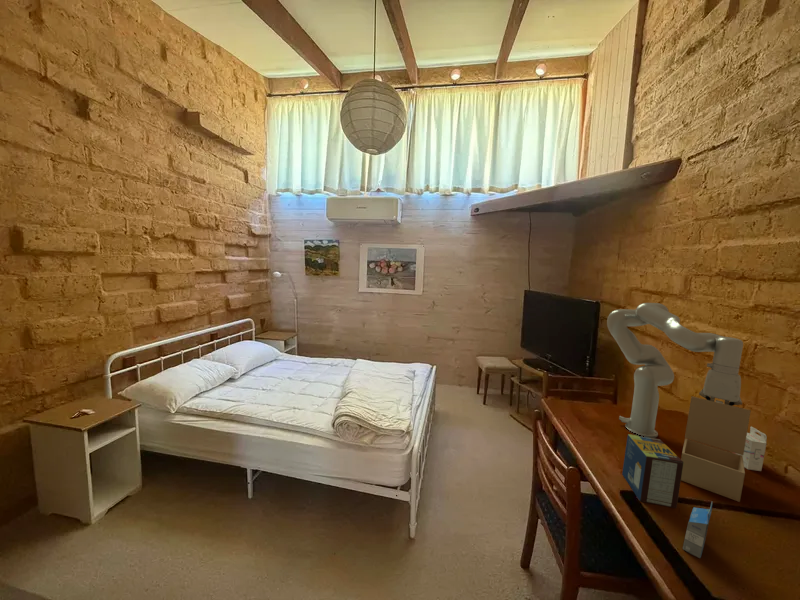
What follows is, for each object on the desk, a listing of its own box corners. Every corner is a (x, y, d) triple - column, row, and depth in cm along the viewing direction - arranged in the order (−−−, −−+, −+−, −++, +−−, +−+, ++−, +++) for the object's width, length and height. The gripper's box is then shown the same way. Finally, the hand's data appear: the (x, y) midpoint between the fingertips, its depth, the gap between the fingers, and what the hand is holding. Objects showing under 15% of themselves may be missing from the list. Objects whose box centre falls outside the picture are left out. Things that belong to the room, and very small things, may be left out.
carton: (677, 479, 124) (682, 452, 123) (681, 462, 136) (685, 438, 135) (739, 501, 113) (744, 473, 112) (737, 481, 125) (742, 455, 124)
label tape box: (687, 533, 97) (694, 493, 96) (706, 542, 94) (713, 501, 93) (681, 549, 91) (689, 506, 90) (702, 560, 88) (709, 515, 87)
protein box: (654, 480, 123) (660, 438, 121) (677, 509, 108) (684, 462, 106) (621, 474, 125) (627, 433, 123) (639, 501, 110) (646, 455, 109)
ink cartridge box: (730, 457, 142) (736, 423, 141) (744, 459, 141) (751, 425, 140) (747, 469, 134) (753, 433, 133) (762, 471, 133) (769, 435, 132)
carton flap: (691, 396, 135) (692, 394, 140) (684, 437, 135) (685, 434, 140) (750, 410, 124) (749, 407, 129) (743, 455, 124) (741, 451, 129)
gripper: (697, 365, 135) (689, 410, 137) (755, 376, 124) (746, 425, 126) (698, 362, 140) (691, 406, 142) (753, 372, 130) (745, 419, 131)
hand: (717, 414), depth 134 cm, fingers closed on carton flap, 2 cm apart
